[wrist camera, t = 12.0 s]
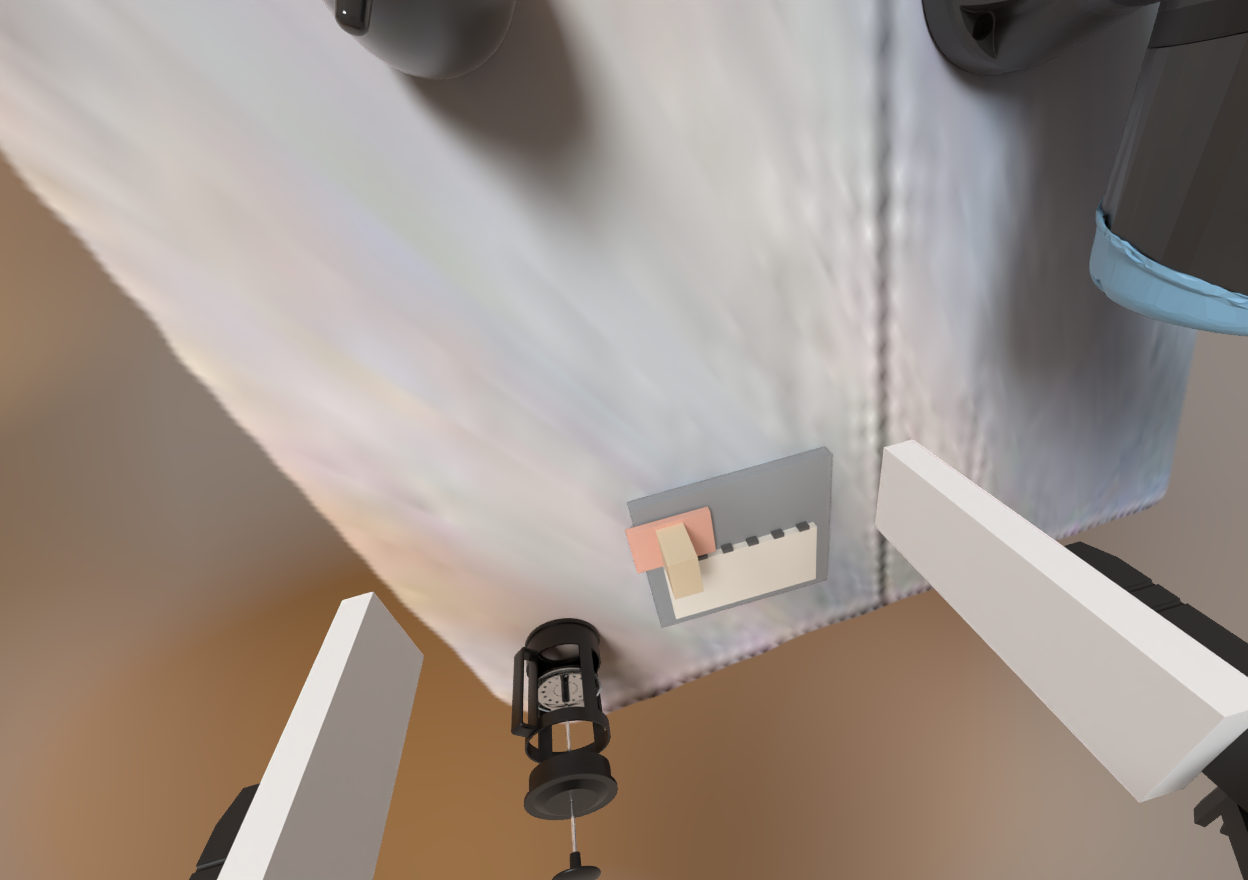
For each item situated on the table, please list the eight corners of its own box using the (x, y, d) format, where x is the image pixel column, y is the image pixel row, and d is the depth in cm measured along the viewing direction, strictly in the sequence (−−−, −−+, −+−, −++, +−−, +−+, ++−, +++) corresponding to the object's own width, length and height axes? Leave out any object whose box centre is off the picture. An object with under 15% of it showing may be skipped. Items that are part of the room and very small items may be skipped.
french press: (617, 632, 58) (659, 863, 39) (575, 673, 61) (595, 907, 42) (540, 604, 53) (543, 854, 34) (498, 651, 56) (479, 904, 37)
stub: (707, 506, 47) (727, 545, 43) (713, 546, 51) (732, 586, 46) (625, 529, 47) (635, 571, 42) (636, 568, 50) (647, 611, 45)
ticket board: (824, 446, 48) (837, 458, 46) (820, 571, 59) (830, 585, 57) (627, 502, 48) (631, 516, 46) (659, 618, 58) (663, 633, 56)
